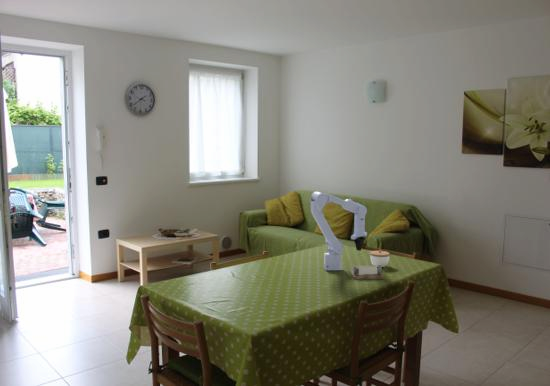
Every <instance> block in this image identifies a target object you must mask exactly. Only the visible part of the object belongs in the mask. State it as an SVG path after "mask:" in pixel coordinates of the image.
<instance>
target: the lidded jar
mask: <svg viewBox="0 0 550 386" xmlns="http://www.w3.org/2000/svg"><path fill="white" fill-rule="evenodd" d="M369 255H370V256H369V257H370V262H371V264H372V266H377V267H378V265H382V267H384V268H386V266H387V265H388V264H389V261H390V252H388V251H384V250H381V249H378V250H371V251H370V252H369Z"/></svg>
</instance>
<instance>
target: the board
mask: <svg viewBox="0 0 550 386" xmlns="http://www.w3.org/2000/svg"><path fill="white" fill-rule="evenodd" d="M348 272H349V274H350V275H351V277H352V278H353V280H384V276H383V275H382V273H381V274H378V269H377V274H359V269H358V268H355V274H353V272H354V268H348Z"/></svg>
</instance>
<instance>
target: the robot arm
mask: <svg viewBox="0 0 550 386" xmlns="http://www.w3.org/2000/svg"><path fill="white" fill-rule="evenodd" d="M309 202H310V213H311V215H312V217H313V219H314V220H315V222H316V224H317V226H318V227H319V230H320V231H321V233H322V235H323V237H324V238H325V240H324V241H325V244H326V245H325V247H326V248H327V250H328V251H327V252H324V254H323V269H324V271H343V267H342V252H344V244H343V243H342V242H340V240H339V239H338V238H337V237H336V235H335V233H334V232H333V231H332V229H331V227H330V225H329V223H328V221H327V219H326V218H325V215H324V214H323V212H322V211H323V209H324V207H325V205H327V204H328V203H331V202H332V203H334V204H337V205H340V206H342V209H343V210H346V211H348V212H350V213H353V214H354V218H353V219H354V220H353V221H354V223H353V227H354V228H353V234H352V235H351V236H350V240H353V242H354V244H355V248H356V251H359V252H360V251H362V247H363V245H364V243H365V241H366V237H367V236H368V232H367V231H365V230H366V229H365V226H366V225H365V223H366V215H367V213H368V209H367V207H366V206H365V205H363V204H360V202H358V201H357V202H356V201H354V200H352V199H351V198H346V199H343V198H342V199H341V198H339V197H338V196H335V195H333V194H330V193H325V192H322V191H321V192H320V191H317V190H316V191H313V192H312V193H311V195H310V197H309Z"/></svg>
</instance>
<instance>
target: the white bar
mask: <svg viewBox="0 0 550 386" xmlns="http://www.w3.org/2000/svg"><path fill="white" fill-rule="evenodd" d="M355 268H358V269H359V274H377V270H378V274H381V275H382V270H383V269H382V265H378V268H377V266H374V265H353V269H354V272H353V274H355Z"/></svg>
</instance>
